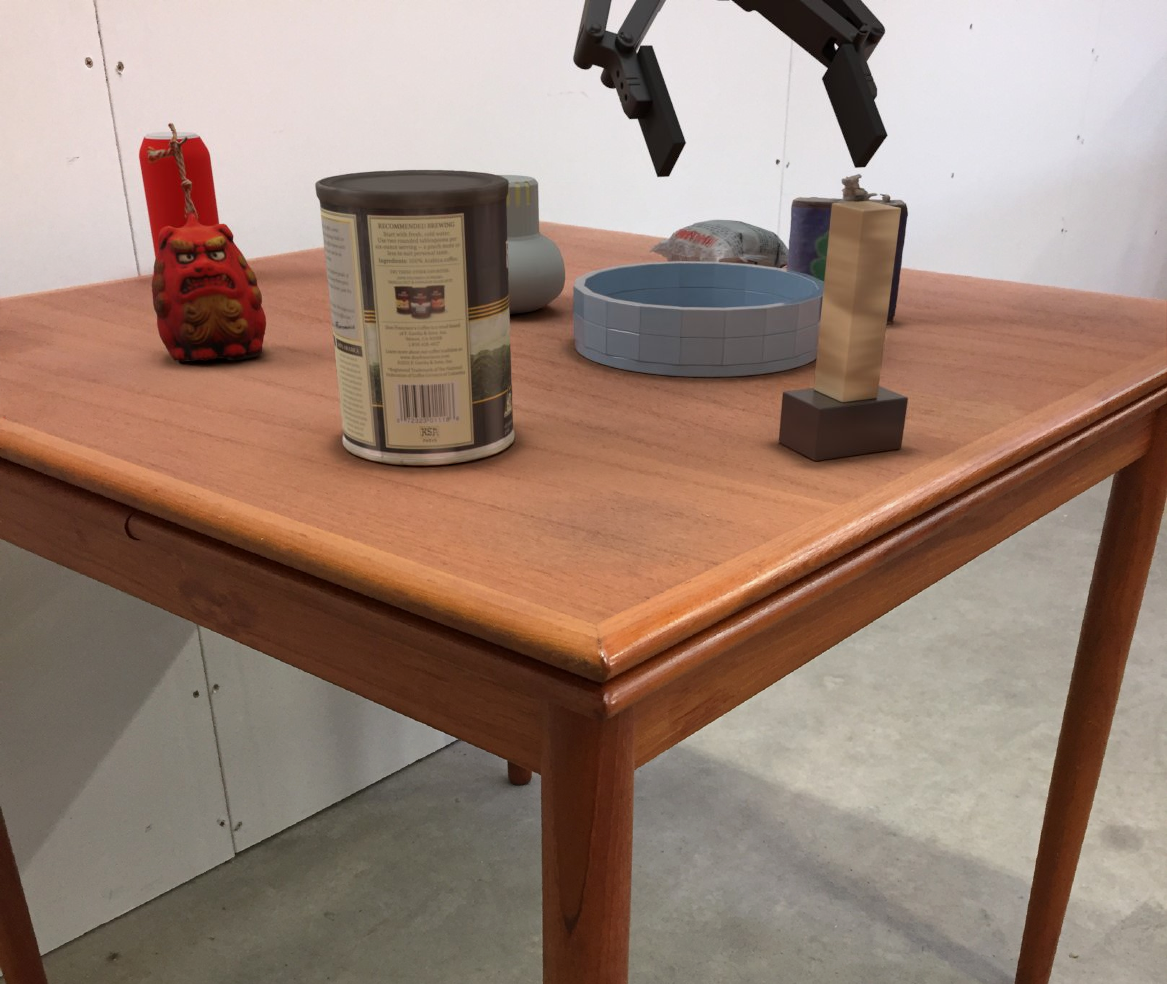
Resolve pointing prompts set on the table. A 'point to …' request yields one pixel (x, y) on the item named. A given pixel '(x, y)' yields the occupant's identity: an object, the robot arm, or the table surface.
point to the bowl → (697, 318)
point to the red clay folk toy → (204, 286)
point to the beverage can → (177, 183)
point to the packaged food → (724, 244)
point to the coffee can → (420, 313)
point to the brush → (850, 344)
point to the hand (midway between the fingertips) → (774, 156)
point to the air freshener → (530, 250)
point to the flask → (814, 233)
